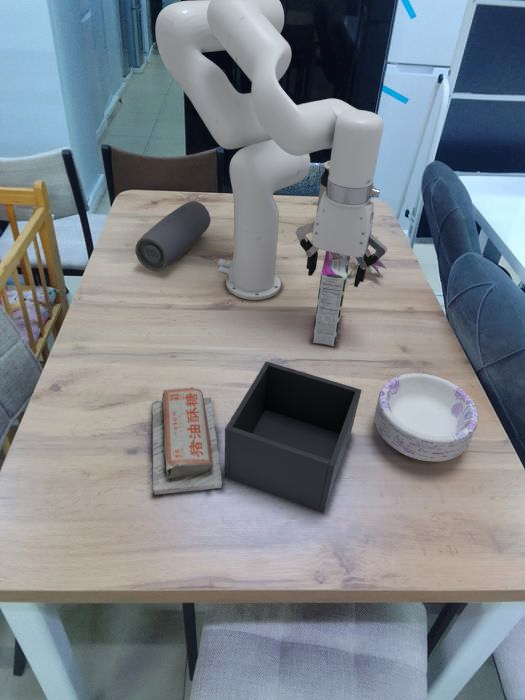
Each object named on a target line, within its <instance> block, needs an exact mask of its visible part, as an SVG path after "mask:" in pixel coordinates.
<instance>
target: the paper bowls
mask: <svg viewBox="0 0 525 700" xmlns="http://www.w3.org/2000/svg"><path fill="white" fill-rule="evenodd" d="M374 421H375V427H376V430H377V431H378V434H379V435H380V437H381V438H382V439H383V440H384V441H385V442H386V443H387V444H388V445H389V446H390V447H392V448H393V449H394V450H396V451H398V452H399V454H400V453H401V454H403V455H404V456H407V457H409V458H412V459H414V460H419V461H423V462H425V461H426V462H445V461H449V460H451V459H454V458H456V457H459V456H460V455H462V454H463V453H464V452H465V451H466V450H467V448H468V446H469V444H470V443H471V440H472V439H473V437H474V434H475V432H476V429H477V427H478V424H479V413H478V409H477V407H476V404H475V402H474V400H473V399H472V398H471V397H470V396H469V394H468V393H466V392H465V391H464V390H463V389H462V388H461V387H459V386H458V385H456V384H455V383H453V382H451V381H450V380H448V379H445V378H442V377H440V376H437V375H433V374H427V373H422V372H412V373H411V372H410V373H403V374H400V375H396V376H394V377H393V378H390V379H389V380H388V381H387V382H385V383H384V384H383V386H382V387H381V389H380V391H379V394H378V398H377V402H376V406H375V411H374Z"/></svg>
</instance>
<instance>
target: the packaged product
mask: <svg viewBox="0 0 525 700" xmlns="http://www.w3.org/2000/svg"><path fill="white" fill-rule="evenodd" d="M151 404H152V406H151V407H152V408H151V409H152V490H153V493H154V495H156V496H157V495H165V494H173V493H181V492H193V491H203V490H212V489H213V490H214V489H221V488H222V485H223V482H222V481H223V480H222V472H221V471H222V470H221V463H220V456H219V449H218V441H217V433H216V426H215V418H214V411H213V402H212V397H204V393H203V391H202V389H199V388H195V387H191V386H190V387H185V388H170V389H164V390H163V392H162V397H161V400H155V401H153V402H152V403H151Z"/></svg>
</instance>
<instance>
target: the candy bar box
mask: <svg viewBox="0 0 525 700" xmlns="http://www.w3.org/2000/svg"><path fill="white" fill-rule="evenodd" d="M350 259H351V256H347V255H343V254H338V253H334V252H330V251H325V253H324V258H323V263H322V268H321V273H320V278H319V279H320V280H319V288H318V295H317V303H316V311H315V319H314V320H315V321H314V326H313V334H312V344H315V345H321V346H327V347H328V346H329V347H336V342H337V339H338V333H339V327H340V322H341V316H342V310H343V304H344V298H345V293H346V286H347V281H348V274H349V267H350Z"/></svg>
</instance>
